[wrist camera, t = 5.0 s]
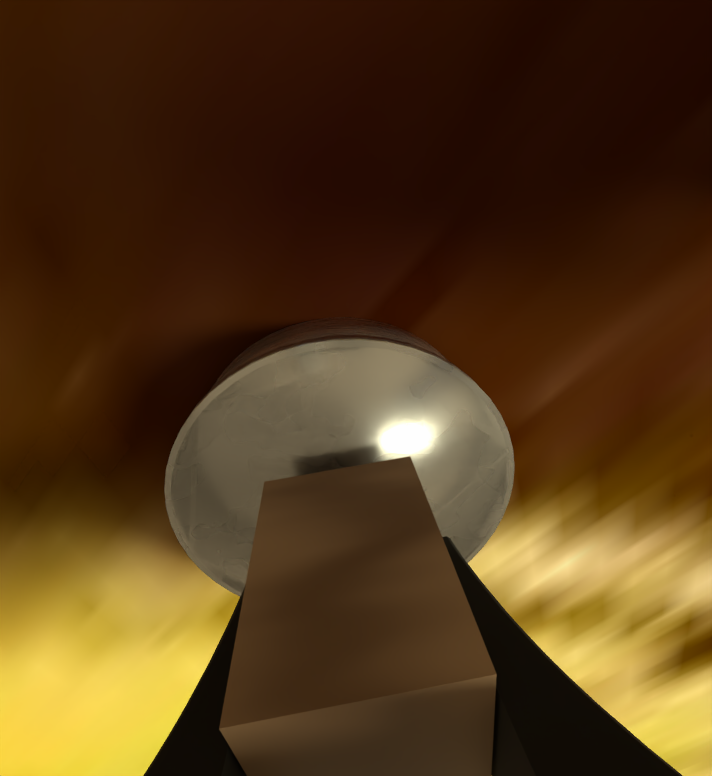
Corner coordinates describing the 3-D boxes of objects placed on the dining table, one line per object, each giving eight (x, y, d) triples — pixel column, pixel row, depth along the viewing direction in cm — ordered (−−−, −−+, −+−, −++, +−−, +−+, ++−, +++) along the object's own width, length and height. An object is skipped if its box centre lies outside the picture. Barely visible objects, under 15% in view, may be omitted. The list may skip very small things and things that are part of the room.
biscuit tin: (489, 297, 14) (539, 322, 11) (466, 532, 20) (495, 593, 17) (156, 325, 13) (109, 360, 10) (228, 563, 19) (211, 633, 16)
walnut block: (410, 456, 11) (496, 674, 6) (419, 557, 13) (490, 791, 8) (264, 481, 11) (218, 729, 6) (294, 580, 13) (281, 834, 8)
